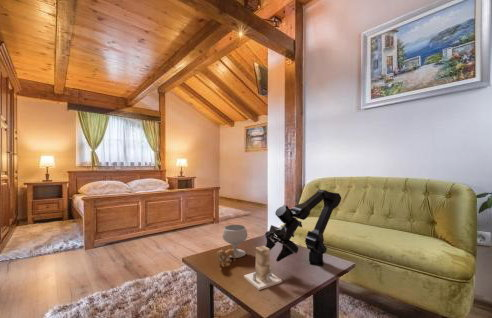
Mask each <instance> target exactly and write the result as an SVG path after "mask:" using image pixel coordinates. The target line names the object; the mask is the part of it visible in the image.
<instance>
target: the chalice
mask: <svg viewBox="0 0 492 318" xmlns="http://www.w3.org/2000/svg"><path fill="white" fill-rule="evenodd" d="M247 238H248V230H247V228H246V227H245V225H242V224H229V225H226V226H224V228H223V231H222V239H223V240H224V242H226V243H228V244H230V245H231V246H232V248H231V249H232V250H233V251H234V256H235V259H238V258H243V257H244V256H246V254H247V253H246V251H245V250H243V249H240V248H239V249H238V246H239V245H240V244H242V243H244V242H245V241H246V240H247ZM230 258H231V259H234V258H233V257H232V256H231V255H230Z"/></svg>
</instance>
